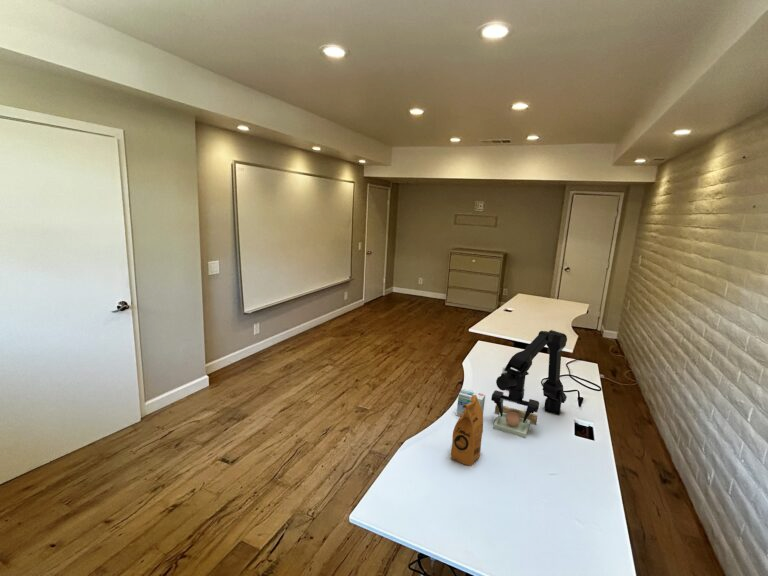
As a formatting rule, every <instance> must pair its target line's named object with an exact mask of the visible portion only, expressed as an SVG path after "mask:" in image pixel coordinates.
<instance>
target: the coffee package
mask: <svg viewBox="0 0 768 576" xmlns="http://www.w3.org/2000/svg"><path fill="white" fill-rule="evenodd" d="M463 408H466V409H465V410H464V411H463V413H462V415H461V417H460V416H459V418H458V420H457V422H456V423H455V425H454V429H453V431H452V443H451V450H450V457H451V459H452V460H453V461H457V462H458V463H462V464H463V465H465V466H468V467H469V466H470V467H471V466H472V465H473V464H474V463H475V461H476V460H478V459H479V457H480V454H481V448H482V440H483V439H482V438H483V437H482V436H483V433H484V411H483V412H482V409H481V406H480V404H479V401H478V399H477V396H476V395H473V396H472V397H471V403H470V404H466V405H464V406H463Z"/></svg>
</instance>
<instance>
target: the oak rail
mask: <svg viewBox="0 0 768 576" xmlns="http://www.w3.org/2000/svg"><path fill="white" fill-rule="evenodd" d="M511 411H514V412H516V413H518V415H519V416H520V417H521V418H524V416H525V413H526V410H525V411H524V410H520V409H517V408H513V407H509V406H507V405H503V413H506V414H507V413H508V412H511ZM499 413H500V411H499V408H498V406H497V404H496V403H495V406H494V414H495V415H499ZM538 416H539V415H538V414H536V413H530V415H529V416H528V417H527V419H528V420H530V425H534V426H537V423H538Z"/></svg>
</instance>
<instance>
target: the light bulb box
mask: <svg viewBox="0 0 768 576" xmlns="http://www.w3.org/2000/svg"><path fill="white" fill-rule="evenodd" d="M473 395H476V396H477V399H478V401H479V404H480V406H481V409H482V412H483V413H484V411H485V403H486V402H485V401H486V394H485V393H481V392H478V391H474V390H470V389H466V388H462V389H461V391H459V393H458V397H457V406H456V417H459V418H460V417H461V415H462V413H463V411H464V410H465V409H466V408H463V406H464V405H466V404H470V403H471V397H472V396H473Z"/></svg>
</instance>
